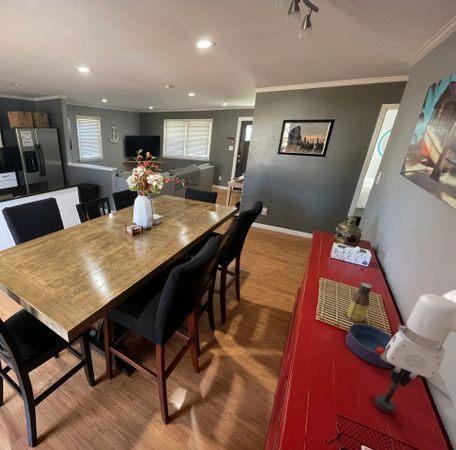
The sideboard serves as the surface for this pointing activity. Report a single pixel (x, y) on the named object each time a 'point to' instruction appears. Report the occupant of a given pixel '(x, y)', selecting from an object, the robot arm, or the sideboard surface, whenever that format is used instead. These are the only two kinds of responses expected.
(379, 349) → the tomato
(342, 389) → the sideboard surface
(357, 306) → the sauce bottle
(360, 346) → the bowl
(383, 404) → the dark grey rod
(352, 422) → the sideboard surface
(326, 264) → the sideboard surface
